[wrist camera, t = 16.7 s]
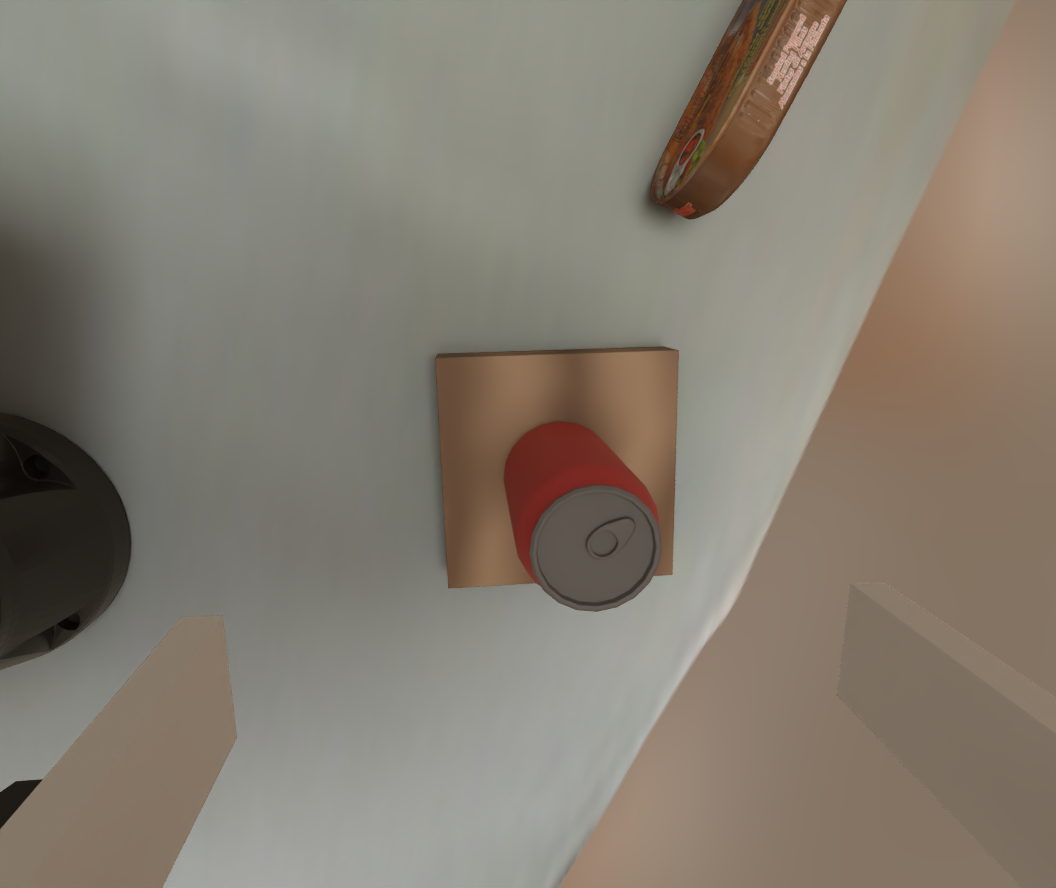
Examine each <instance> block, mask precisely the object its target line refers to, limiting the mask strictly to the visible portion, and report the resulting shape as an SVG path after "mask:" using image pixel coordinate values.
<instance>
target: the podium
mask: <svg viewBox="0 0 1056 888" xmlns="http://www.w3.org/2000/svg"><path fill="white" fill-rule="evenodd" d="M678 359H679V350H675V349H671V348H667V347H637V348H606V349H574V350H543V351H511V352H480V353H448V354H438V355H437V356H436V358H435V361H436V379H437V397H438V414H439V432H440V450H441V467H442V485H443V503H444V520H445V538H446V556H447V573H448V588H463V587H480V586H496V585H513V584H529V583H536V582H535V581H534V580H533V579H532V578H531V577H530V576H529V574H528V573H527V571H526V569H525V568H524V566H523V564H522V563H521V561H520V559H519V558H518V554H517V549H516V545H515V540H514V535H513V529H512V524H511V518H510V513H509V507H508V502H507V496H506V491H505V485H504V480H503V479H504V471H505V463H506V461H507V458H508V456H509V454H510V452H511V450H512V448H513V446H514V445H515V444H516V443H517V442H518V441H519V440H520V439H521V438H522V437H523V436H524V435H525V434H526V433H527V432H529V431H531V430H533V429H535V428H536V427H538V426H540V425H543V424H548V423H553V422H558V421H560V422H569V423H577V424H579V425H581V426H583V427H585V428H588V429H590V430H592V431H593V432H594V433H595V434H596V435H597V436H598V437H599V438H601V439H602V440H603V441H604V442H605V443H606V444H607V445H608V446H609V448H610V449H611V450H612V451H613V452H614V453H615V454H616V455H617V456H618V457H619V458H620V459H621V460H622V461H623V462H624V464H625V465H626V466H627V467H628V468H629V469H630V470H631V471H632V472H633V473H634V474H635V475H636V476H637V477H638V479H639V480H640V481H641V482H642V483H643V484H644V485H645V486H646V487H647V489H648V491H649V493H650V495H651V497H652V499H653V501H654V503H655V504H656V507H657V512H658V519H659V525H660V532H661V540H662V551H661V556H660V562H659V566H658V568H657V570H656V571H655V573H654V575H653V576H660V575H672V571H673V536H674V500H675V465H676V430H677V394H678Z"/></svg>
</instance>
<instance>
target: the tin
mask: <svg viewBox="0 0 1056 888" xmlns="http://www.w3.org/2000/svg"><path fill="white" fill-rule="evenodd" d="M846 1H847V0H743V2H742V4H741V5H740V7H739V9H738V11H737V12H736V14H735V16H734V18H733V20H732V21H731V23H730V25H729V27H728V29H727V31H726V33H725V34H724V36H723V38H722V40H721V42H720V44H719V46H718V48H717V50H716V52H715V54H714V56H713V58H712V60H711V62H710V64H709V65H708V67H707V69H706V71H705V74H704V75H703V77H702V79H701V81H700V83H699V85H698V87H697V89H696V91H695V93H694V95H693V97H692V99H691V101H690V102H689V104H688V106H687V108H686V110H685V112H684V114H683V116H682V118H681V120H680V122H679V124H678V126H677V128H676V129H675V131H674V133H673V135H672V137H671V139H670V141H669V143H668V145H667V147H666V149H665V151H664V153H663V156H662V158H661V160H660V163H659V165H658V168H657V170H656V173H655V176H654V179H653V183H652V188H651V198H652V200H653V201H654V202H655V203H657V204H662V205H664V206H665V207H667V208H669V209H670V210H672V211H673V212H675V213H677V214H678V215H680V216H682V217H684V218H687V219H696V218H698V217H700V216H703V215H705V214H707V213H710V212H712V211H714V210H715V209H717V208H718V207H719V206H720V205H722V204H723V203H724V202H725V201H726V200H727V199H728V198H729V197H730V196H731V195H732V194H733V193H734V192H735V191H736V190H737V188H738V187H739V186H740V185H741V184H742V183H743V181H744V180H745V179H746V178H747V176H748V175H749V174H750V172H751V171H752V170H753V168H754V167H755V165H756V164H757V162H758V161H759V159H760V158H761V156H762V155H763V153H764V152H765V150H766V149H767V147H768V145H769V144H770V142H771V140H772V139H773V137H774V135H775V133H776V131H777V130H778V128H779V126H780V124H781V122H782V120H783V119H784V117H785V115H786V113H787V111H788V110H789V108H790V106H791V104H792V102H793V101H794V99H795V97H796V95H797V93H798V91H799V89H800V88H801V86H802V84H803V82H804V80H805V78H806V77H807V75H808V73H809V71H810V69H811V67H812V65H813V63H814V62H815V60H816V58H817V56H818V54H819V52H820V50H821V48H822V47H823V45H824V43H825V41H826V39H827V37H828V35H829V33H830V31H831V30H832V28H833V26H834V24H835V22H836V20H837V18H838V16H839V15H840V13H841V11H842V9H843V7H844V5H845V3H846Z"/></svg>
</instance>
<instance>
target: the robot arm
mask: <svg viewBox="0 0 1056 888" xmlns="http://www.w3.org/2000/svg"><path fill="white" fill-rule="evenodd" d="M129 556H130V535H129V527H128V523H127V518H126V515H125V512H124V509H123V506H122V504H121V501H120V499H119V497H118V495H117V493H116V491H115V489H114V488H113V486H112V484H111V483H110V481H109V480H108V478H107V477H106V476H105V474H104V473H103V472H102V470H101V469H100V468H99V467H98V466H97V465H96V463H95V462H94V461H93V460H92V459H91V458H90V457H89V456H88V455H87V454H85V453H84V452H83V451H82V450H81V449H80V448H78V447H77V446H76V445H74V444H73V443H72V442H70V441H69V440H67V439H66V438H64V437H63V436H61V435H59V434H58V433H56V432H54V431H52V430H50V429H48V428H46V427H44V426H42V425H39V424H37V423H35V422H32V421H29V420H26V419H23V418H19V417H16V416H12V415H7V414H2V413H0V670H2V669H5V668H7V667H10V666H13V665H16V664H19V663H22V662H25V661H28V660H31V659H34V658H37V657H39V656H42V655H44V654H47V653H49V652H51V651H53V650H55V649H56V648H58V647H60V646H62V645H63V644H65V643H67V642H68V641H70V640H71V639H73V638H74V637H75V636H76V635H78V634H79V633H80V632H81V631H82V630H84V629H85V628H86V627H87V626H88V625H90V624H91V623H92V622H93V621H94V620H95V619H97V618H98V617H99V616H100V615H101V614H102V613H103V612H104V611H105V610H106V609H107V607H108V606H109V605H110V604H111V602H112V601H113V600H114V598H115V596H116V595H117V593H118V591H119V589H120V588H121V586H122V583H123V581H124V578H125V575H126V572H127V568H128V563H129ZM837 696H838V697H839V698H840V699H841V700H842V701H843V702H844V703H845V704H846V705H847V706H848V708H849V709H850V710H851V711H852V712H853V713H854V714H855V715H856V716H857V717H858V718H859V719H860V720H861V721H862V722H863V723H864V724H865V726H866V727H867V728H868V729H869V730H870V731H871V732H872V733H873V734H874V735H875V736H876V737H877V738H878V739H879V740H880V741H881V742H882V743H883V744H884V745H885V746H886V748H887V749H888V750H889V751H890V752H891V753H892V754H893V755H894V756H895V757H896V758H897V759H898V760H899V761H900V762H901V763H902V764H903V765H904V766H905V768H906V769H908V771H909V772H910V773H911V774H912V775H913V776H914V777H915V778H916V779H917V780H918V781H919V782H920V783H921V784H922V785H923V786H924V787H925V788H926V790H927V791H928V792H929V793H930V794H931V795H932V796H933V797H934V798H935V799H936V800H937V801H938V802H939V803H940V804H941V805H942V806H943V807H944V809H945V810H946V811H948V813H949V814H950V815H951V816H952V817H953V818H954V819H955V820H956V821H957V822H958V823H959V824H960V825H961V826H962V827H963V828H964V830H965V831H966V832H967V833H968V834H969V835H970V836H971V837H972V838H973V839H974V840H975V841H976V842H977V843H978V844H979V845H980V846H981V847H982V848H983V849H984V850H985V852H986V853H987V854H988V855H989V856H990V857H991V858H992V859H993V860H994V861H995V862H996V863H997V864H998V865H999V866H1000V867H1001V868H1002V869H1003V870H1004V871H1005V873H1006V874H1007V875H1008V876H1009V877H1010V878H1011V879H1012V880H1013V881H1014V882H1015V883H1016V884H1017V885H1018V886H1019V887H1020V888H1056V697H1054V696H1053V695H1051V694H1050V693H1048V692H1047V691H1046V690H1044V689H1043V688H1041V687H1039V686H1038V685H1037V684H1035V683H1033V682H1032V681H1031V680H1029V679H1028V678H1026V677H1025V676H1023V675H1022V674H1020V673H1019V672H1017V671H1016V670H1014V669H1012V668H1011V667H1010V666H1008V665H1007V664H1005V663H1004V662H1002V661H1001V660H999V659H998V658H996V657H995V656H993V655H992V654H990V653H989V652H987V651H986V650H984V649H983V648H981V647H980V646H978V645H977V644H975V643H974V642H972V641H971V640H969V639H968V638H966V637H965V636H963V635H962V634H960V633H959V632H957V631H956V630H954V629H953V628H951V627H950V626H949V625H947V624H946V623H944V622H942V621H941V620H940V619H938V618H936V617H935V616H933V615H932V614H931V613H929V612H928V611H926V610H925V609H923V608H922V607H920V606H919V605H917V604H916V603H914V602H913V601H911V600H910V599H908V598H907V597H905V596H904V595H902V594H901V593H899V592H898V591H896V590H895V589H893V588H892V587H890V586H889V585H887V584H886V583H884V582H869V583H851V584H850V591H849V600H848V607H847V616H846V624H845V632H844V640H843V648H842V657H841V665H840V672H839V681H838V688H837ZM236 738H237V733H236V725H235V716H234V708H233V699H232V691H231V683H230V674H229V666H228V657H227V649H226V641H225V632H224V624H223V615H220V616H201V617H182V618H181V619H180V620H179V621H178V622H177V623H176V625H175V626H174V627H173V628H172V629H171V630H170V632H169V633H168V634H167V635H166V636H165V637H164V639H163V640H162V641H161V642H160V643H159V644H158V646H157V647H156V648H155V649H154V650H153V651H152V653H151V654H150V655H149V656H148V657H147V658H146V660H145V661H144V662H143V663H142V664H141V665H140V667H139V668H138V669H137V670H136V671H135V672H134V674H133V675H132V676H131V677H130V678H129V679H128V681H127V682H126V683H125V684H124V685H123V686H122V688H121V689H120V690H119V691H118V692H117V693H116V695H115V696H114V697H113V698H112V699H111V700H110V702H109V703H108V704H107V705H106V706H105V707H104V709H103V710H102V711H101V712H100V713H99V715H98V716H97V717H96V718H95V719H94V720H93V722H92V723H91V724H90V725H89V726H88V727H87V729H86V730H85V731H84V732H83V733H82V734H81V736H80V737H79V738H78V739H77V740H76V741H75V743H74V744H73V745H72V746H71V747H70V748H69V750H68V751H67V752H66V753H65V754H64V755H63V757H62V758H61V759H60V760H59V761H58V762H57V764H56V765H55V766H54V767H53V768H52V769H51V771H50V772H49V773H48V774H47V775H46V776H45V778H44V779H42V780H28V781H16V782H14V783H13V784H12V785H10V786H9V787H7V788H6V789H4V790H3V791H2V792H0V888H162V887H163V885H164V883H165V881H166V879H167V877H168V875H169V873H170V871H171V869H172V867H173V865H174V863H175V861H176V859H177V857H178V855H179V853H180V851H181V849H182V847H183V845H184V843H185V841H186V839H187V837H188V835H189V833H190V831H191V829H192V827H193V825H194V823H195V821H196V819H197V817H198V815H199V813H200V811H201V809H202V807H203V805H204V803H205V801H206V799H207V797H208V795H209V793H210V791H211V789H212V787H213V785H214V783H215V781H216V779H217V777H218V775H219V773H220V771H221V769H222V767H223V765H224V763H225V761H226V759H227V756H228V754H229V752H230V750H231V748H232V746H233V744H234V742H235V740H236Z"/></svg>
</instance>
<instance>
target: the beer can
mask: <svg viewBox="0 0 1056 888" xmlns="http://www.w3.org/2000/svg"><path fill="white" fill-rule="evenodd" d="M503 480H504V485H505V491H506V496H507V502H508V507H509V513H510V518H511V524H512V529H513V535H514V540H515V545H516V549H517V554H518V558H519V559H520V561H521V563H522V564H523V566H524V568H525V569H526V571H527V573H528V574H529V576H530V577H531V578H532V579H533V580H534V581H535V582H536V583H537V584H538V585H540V586H541V587H542V589H543V590H544V591H545V592H546V593H547V594H549V595H550V596H551V597H552V598H553V599H555V600H556V601H557V602H558V603H560V604H563V605H565V606H568V607H571V608H573V609H576V610H584V611H602V610H606V609H611V608H615V607H618V606H620V605H622V604H624V603H625V602H627V601H629V600H631V599H633V598H635V597H636V596H637V595H638V594H639V593H640V592H641V591H642V590H643V589H644V588H645V587H646V586H647V585H648V584H649V583H650V581H651V579H652V577H653V575H654V573H655V571H656V570H657V568H658V566H659V562H660V556H661V551H662V540H661V532H660V525H659V519H658V512H657V507H656V504H655V503H654V501H653V499H652V497H651V495H650V493H649V491H648V489H647V487H646V486H645V485H644V484H643V483H642V482H641V481H640V480H639V479H638V477H637V476H636V475H635V474H634V473H633V472H632V471H631V470H630V469H629V468H628V467H627V466H626V465H625V464H624V462H623V461H622V460H621V459H620V458H619V457H618V456H617V455H616V454H615V453H614V452H613V451H612V450H611V449H610V448H609V446H608V445H607V444H606V443H605V442H604V441H603V440H602V439H601V438H599V437H598V436H597V435H596V434H595V433H594V432H593V431H592V430H590V429H588V428H585V427H583V426H581V425H579V424H577V423H569V422H560V421H558V422H553V423H548V424H543V425H540V426H538V427H536V428H535V429H533V430H531V431H529V432H527V433H526V434H525V435H524V436H523V437H522V438H521V439H520V440H519V441H518V442H517V443H516V444H515V445H514V446H513V448H512V450H511V452H510V454H509V456H508V458H507V461H506V463H505V471H504V479H503Z"/></svg>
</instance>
